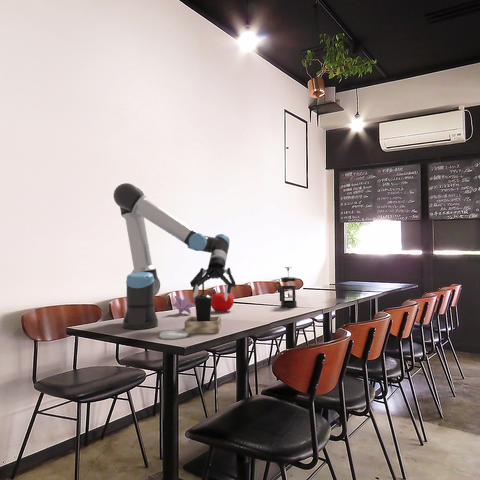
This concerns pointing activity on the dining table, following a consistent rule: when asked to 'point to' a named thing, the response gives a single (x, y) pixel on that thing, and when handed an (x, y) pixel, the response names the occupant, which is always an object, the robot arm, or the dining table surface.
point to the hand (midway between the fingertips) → (209, 298)
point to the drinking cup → (203, 306)
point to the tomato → (221, 302)
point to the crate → (203, 325)
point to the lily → (183, 305)
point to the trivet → (173, 334)
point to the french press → (282, 293)
